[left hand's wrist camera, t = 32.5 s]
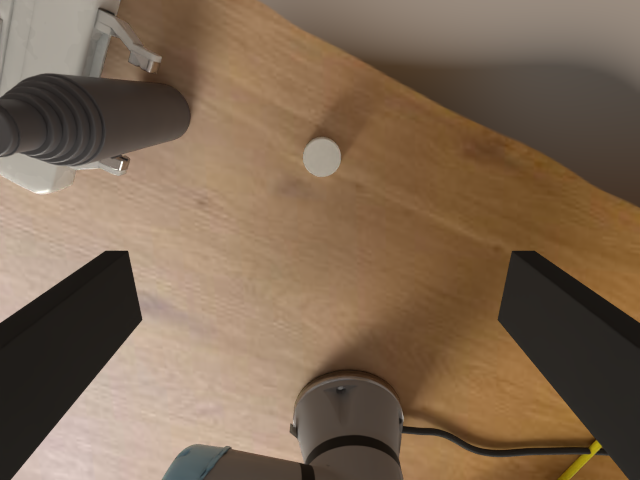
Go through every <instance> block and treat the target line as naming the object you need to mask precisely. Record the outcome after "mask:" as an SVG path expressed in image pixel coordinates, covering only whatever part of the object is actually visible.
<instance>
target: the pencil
mask: <svg viewBox="0 0 640 480" xmlns="http://www.w3.org/2000/svg"><path fill="white" fill-rule="evenodd" d="M601 447H602V446H601V445H600V444H599V442H598V441H597V440H595V441H594V442H593V443H592V444H591V445H590V446H589V447H588V448H589V449H590V451H591V454H589V455H587V454H582V455H581V456H580V457H579V458H578V459H577V460H576V461H575V462H574V463H573V464H572V465H571V466H570V467H569V468H568V469H567V470H566V471H565V472H564V473H563V474H562V475H561V476H560V477H559V478H558V479H557V480H569V479H570V478H571V477H572V476H573V475H574V474H575V473H576V472H577V471H578V470H579V469H580V468H581V467H582V466H583V465H584V464H585V463H586V462H587V461H588V460H589V459H590V458H591V457H592V456H593V455H594V454H595V453H596V452H597V451H598V450H599V449H600V448H601Z"/></svg>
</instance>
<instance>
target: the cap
mask: <svg viewBox="0 0 640 480" xmlns="http://www.w3.org/2000/svg"><path fill="white" fill-rule="evenodd" d="M303 162H304V165H305V167H306V169H307V170H308V171H309V172H310V173H311V174H313V175H315V176H318V177H326V176H329V175H331V174H333V173H334V172H335V171H336V170H337V169H338V167H339V165H340V162H341V153H340V149H339V147H338V145H337V144H336V142H334V141H333V140H331V139H329V137H328V138H327V137H325V136H324V137H321V136H320V137H316V138H315V139H312V140H311V141H309V143H308V144H307V145H306V148H305V149H304V152H303Z"/></svg>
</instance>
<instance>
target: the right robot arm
mask: <svg viewBox="0 0 640 480" xmlns="http://www.w3.org/2000/svg"><path fill="white" fill-rule="evenodd" d="M120 1H121V0H0V97H1V96H3V95H4V94H5V93H6V92H8V91H9V90H11V89H12V88H13V87H14V86H16V85H17V84H18V83H19V82H21V81H22V80H24V79H26V78H28V77H32V76H35V75H39V74H44V73H54V74H65V75H75V76H86V77H97V78H101V74H102V70H103V66H104V63H105V59H106V55H107V51H108V47H109V43H110V40H111V36H114V37H117V38H120V39H121V40H122V42H123V43H124V44H125V45H126V47H127V48H128V49H129V51H131V53H130V57H129V61H128V62H129V63H131V64H133V65H135V66H139V67H141V69H143V70H145V71H147V72H150V73H155V74H157V71H158V68H159V65H160V63H161V59H162V57H161V56H160V55H158V54H156V53H154V52H153V51H151V50H149V49H147V48H145V47H143V46H144V45H143V43H142V42H141V41H140V39H139V38H138V36H137V35H136V34H135V32H134V31H133V29H132V28H131V26H130V25H129V24H128V23H127V22H125V21H124V20H122V19H120V18H118V17H116V16H117V13H118V9H119V5H120ZM129 162H130V158H129V157H127V156H122V155H117V156H114V157H110V158H107V159H103V160H99V161H96V162H92V163H89V164H85V165H81V166H75V167H70V166H58V165H53V164H49V163H47V162H44V161H40V160H38V159H35V158H31V157H29V156H26V155H23V154H20V153H15V154H14V155H11V156H8V157H0V175H1V176H3V177H5V178H6V179H8V180H10V181H12V182H14V183H15V184H17V185H19V186H21V187H23V188H25V189H27V190H29V191H31V192H34V193H36V194H49V193H53V192H57V191H59V190H62V189H64V188H67V187H69V186H71V185H72V184H73V182H74V178H75V174H76V170H82V169H98V168H101V169H103V170H105V171H107V172H109V173H112V174H114V175H118V176H120V175H123V174H126V172H127V168H128V165H129Z"/></svg>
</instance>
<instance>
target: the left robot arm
mask: <svg viewBox="0 0 640 480" xmlns="http://www.w3.org/2000/svg"><path fill="white" fill-rule="evenodd" d="M141 321H142V316H141V311H140V306H139V301H138V297H137V292H136V287H135V282H134V277H133V272H132V268H131V263H130V258H129V253H128V251H105V252H103V253H102V254H100V255H99V256H97V257H96V258H94V259H93V260H92V261H90V262H89V263H87V264H86V265H84V266H83V267H81V268H80V269H78V270H77V271H75V272H74V273H73V274H71V275H70V276H68V277H67V278H65V279H64V280H62V281H61V282H59V283H58V284H57V285H55V286H54V287H52V288H51V289H49V290H48V291H46V292H45V293H43V294H42V295H40V296H39V297H38V298H36V299H35V300H33V301H32V302H30V303H29V304H27V305H26V306H24V307H23V308H22V309H20V310H19V311H17V312H16V313H14V314H13V315H11V316H10V317H8V318H7V319H6V320H4V321H3V322H1V323H0V480H11V479H12V478H13V476H14V475H15V474H16V473H17V472H18V470H19V469H20V468H21V467H22V465H23V464H24V463H25V462H26V461H27V459H28V458H29V457H30V456H31V454H32V453H33V452H34V451H35V450H36V448H37V447H38V446H39V445H40V444H41V442H42V441H43V440H44V439H45V437H46V436H47V435H48V434H49V433H50V431H51V430H52V429H53V428H54V427H55V425H56V424H57V423H58V422H59V420H60V419H61V418H62V417H63V416H64V414H65V413H66V412H67V411H68V410H69V408H70V407H71V406H72V405H73V403H74V402H75V401H76V400H77V399H78V397H79V396H80V395H81V394H82V392H83V391H84V390H85V389H86V388H87V386H88V385H89V384H90V383H91V382H92V380H93V379H94V378H95V377H96V375H97V374H98V373H99V372H100V371H101V369H102V368H103V367H104V366H105V365H106V363H107V362H108V361H109V360H110V358H111V357H112V356H113V355H114V354H115V352H116V351H117V350H118V349H119V348H120V346H121V345H122V344H123V343H124V341H125V340H126V339H127V338H128V337H129V335H130V334H131V333H132V332H133V330H134V329H135V328H136V327H137V326H138V324H139V323H140V322H141ZM498 321H499V322H500V323H501V324H502V326H503V327H504V328H505V329H506V330H507V332H508V333H509V334H510V335H511V337H512V338H513V339H514V340H515V341H516V343H517V344H518V345H519V346H520V348H521V349H522V350H523V351H524V352H525V354H526V355H527V356H528V357H529V358H530V360H531V361H532V362H533V363H534V365H535V366H536V367H537V368H538V369H539V371H540V372H541V373H542V374H543V375H544V377H545V378H546V379H547V380H548V382H549V383H550V384H551V385H552V386H553V388H554V389H555V390H556V391H557V392H558V394H559V395H560V396H561V397H562V399H563V400H564V401H565V402H566V403H567V405H568V406H569V407H570V408H571V410H572V411H573V412H574V413H575V414H576V416H577V417H578V418H579V419H580V420H581V422H582V423H583V424H584V425H585V427H586V428H587V429H588V430H589V431H590V433H591V434H592V435H593V436H594V437H595V439H596V440H597V441H598V442H599V444H600V445H601V446H602V447H603V448H600V449H599V450H598V451H597V452H596V453H595V454H594V455H609V456H610V457H611V458H612V459H613V461H614V462H615V463H616V464H617V465H618V467H619V468H620V469H621V470H622V472H623V473H624V474H625V475H626V476H627V478H628V479H629V480H640V323H639V322H637V321H636V320H634V319H633V318H632V317H630V316H629V315H627V314H626V313H624V312H623V311H621V310H620V309H618V308H617V307H616V306H614V305H613V304H611V303H610V302H608V301H607V300H605V299H604V298H602V297H601V296H600V295H598V294H597V293H595V292H594V291H592V290H591V289H589V288H588V287H586V286H585V285H583V284H582V283H581V282H579V281H578V280H576V279H575V278H573V277H572V276H570V275H569V274H567V273H566V272H565V271H563V270H562V269H560V268H559V267H557V266H556V265H554V264H553V263H551V262H550V261H548V260H547V259H546V258H544V257H543V256H541V255H540V254H538V253H537V252H535V251H512V253H511V258H510V263H509V268H508V272H507V277H506V282H505V287H504V292H503V297H502V301H501V306H500V311H499V316H498ZM293 425H294V426H293ZM293 425H292V424H290V433H291V434H293V435H294V436H295V437H296V438H297V439H298V441H299V445H300V449H301V453H302V457H303V460H304V464H302V463H298V462H293V461H288V460H283V459H278V458H273V457H268V456H263V455H258V454H253V453H248V452H243V451H238V450H233V449H232V447H230V446H226V447H224V448H223V447H215V446H208V445H201V444H196V445H191V446H189V447H187V448H185V449H184V450H183V451H182V452H181V453H180V454H179V455H178V456H177V457H176V458H175V460H174V461H173V462H172V464H171V465H170V467H169V468H168V470H167V472H166V473H165V475H164V477H163V479H162V480H403V475H402V471H401V467H400V462H399V453H400V445H401V433H407V434H417V435H435V436H440V437H443V438H446V439H448V440H450V441H452V442H454V443H456V444H457V445H459V446H461V447H462V448H464V449H466V450H468V451H470V452H473V453H476V454H479V455H484V456H491V457H512V456H525V455H562V454H587V455H589V454H591V451H590V449H589V448H582V447H561V448H524V449H511V450H489V449H482V448H478V447H475V446H472V445H470V444H468V443H466V442H465V441H463V440H461V439H460V438H458V437H456V436H454V435H452V434H450V433H448V432H445V431H442V430H439V429H434V428H416V427H407V426H403V412H402V408H401V404H400V401H399V398H398V396H397V394H396V392H395V391H394V389H393V388H392V387H391V386H390V385H389V384H388V383H387V382H385V381H384V380H382V379H381V378H379V377H377V376H375V375H372V374H369V373H366V372H362V371H354V370H344V371H336V372H331V373H328V374H325V375H322V376H320V377H318V378H316V379H314V380H313V381H311V382H310V383H309V384H308V385H306V386H305V387H304V388H303V390H302V391H301V392H300V394H299V395H298V397H297V399H296V402H295V407H294V417H293Z"/></svg>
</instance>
